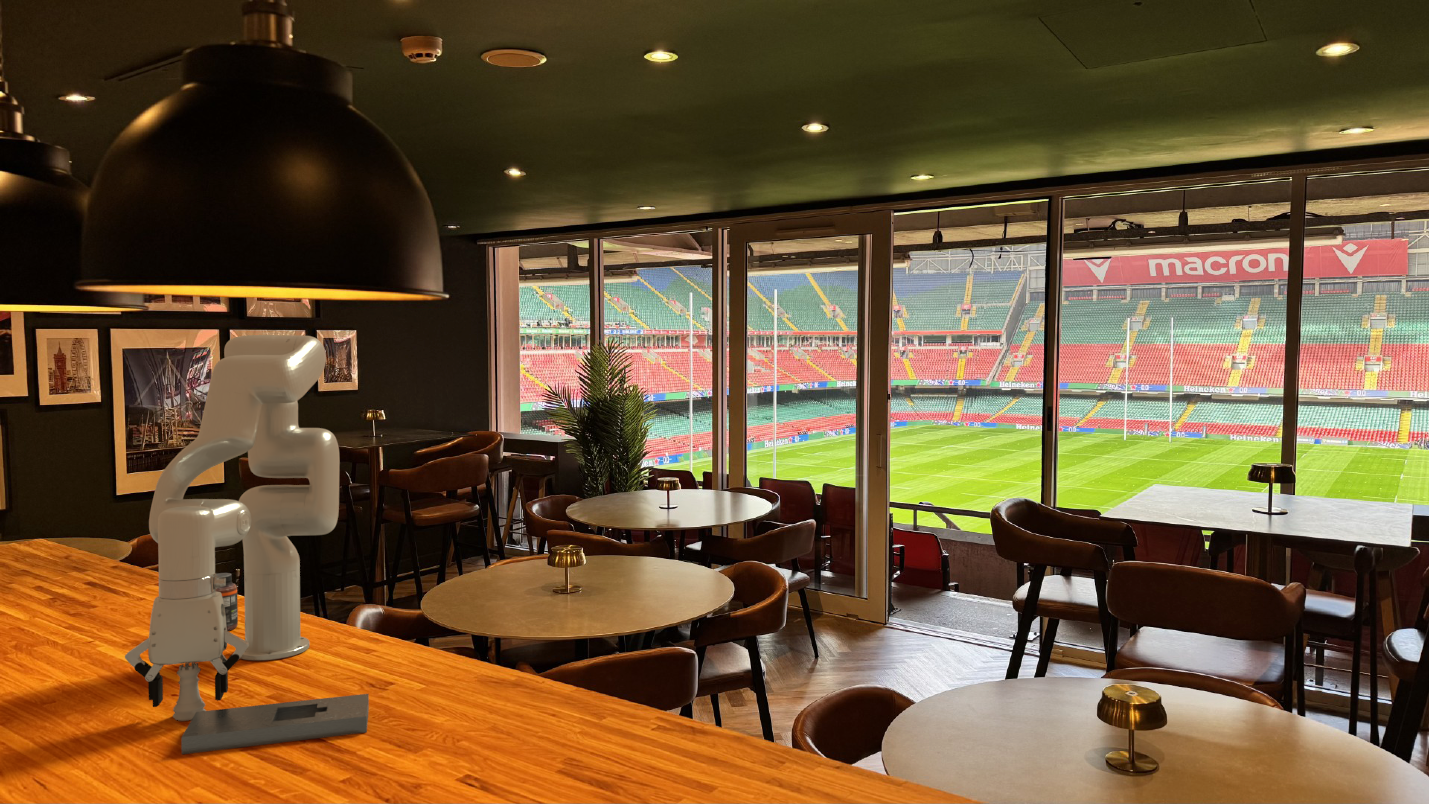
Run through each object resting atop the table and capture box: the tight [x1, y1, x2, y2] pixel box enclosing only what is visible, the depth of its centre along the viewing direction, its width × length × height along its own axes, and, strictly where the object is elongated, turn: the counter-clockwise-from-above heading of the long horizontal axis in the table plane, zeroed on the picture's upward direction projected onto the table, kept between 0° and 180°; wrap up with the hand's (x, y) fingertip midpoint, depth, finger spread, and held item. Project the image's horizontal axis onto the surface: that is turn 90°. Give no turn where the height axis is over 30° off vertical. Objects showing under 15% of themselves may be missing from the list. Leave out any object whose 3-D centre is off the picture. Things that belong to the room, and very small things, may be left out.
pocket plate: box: [180, 693, 370, 755], centre depth 135 cm, size 10×24×2 cm, turn 109°
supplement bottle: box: [215, 572, 239, 632], centre depth 188 cm, size 6×6×11 cm
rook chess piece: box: [172, 662, 207, 722], centre depth 140 cm, size 4×4×8 cm
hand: (189, 700), depth 140 cm, fingers open, 7 cm apart
